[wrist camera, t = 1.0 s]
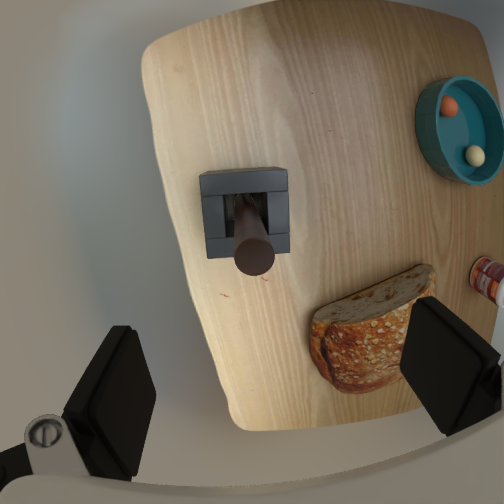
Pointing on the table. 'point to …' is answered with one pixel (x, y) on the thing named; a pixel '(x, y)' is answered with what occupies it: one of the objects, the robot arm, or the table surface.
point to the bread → (368, 332)
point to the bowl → (460, 130)
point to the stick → (250, 238)
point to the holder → (239, 182)
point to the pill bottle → (489, 279)
